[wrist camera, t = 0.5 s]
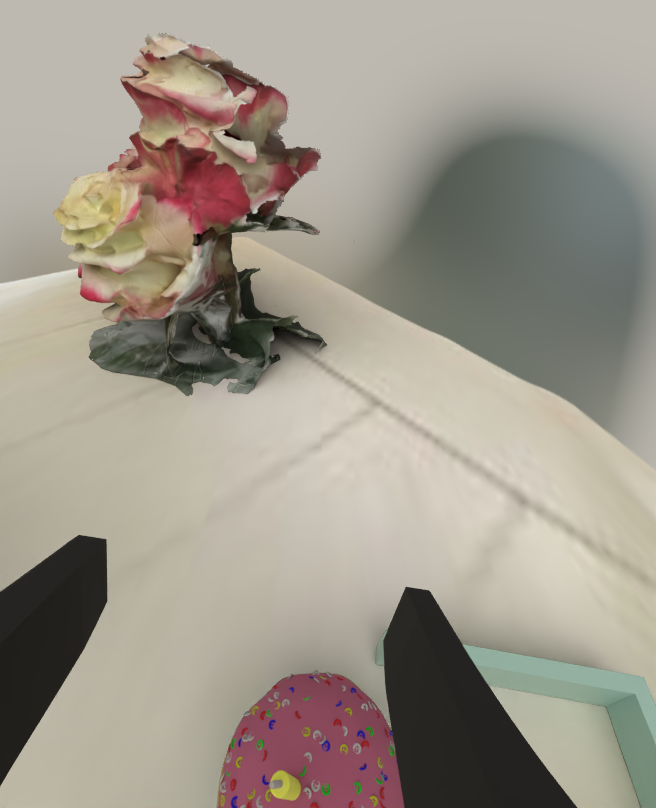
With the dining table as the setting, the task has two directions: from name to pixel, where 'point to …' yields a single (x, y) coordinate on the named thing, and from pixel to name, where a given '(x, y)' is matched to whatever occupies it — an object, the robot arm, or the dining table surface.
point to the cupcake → (312, 750)
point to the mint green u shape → (621, 694)
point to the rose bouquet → (186, 220)
